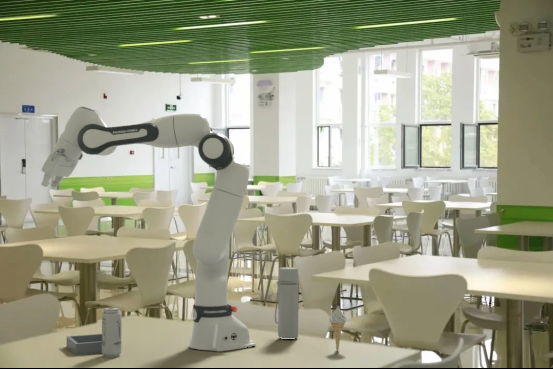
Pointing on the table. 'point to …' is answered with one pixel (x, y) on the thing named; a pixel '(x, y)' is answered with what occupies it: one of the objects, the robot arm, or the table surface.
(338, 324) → the ice cream cone
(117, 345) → the energy drink can
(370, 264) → the table surface
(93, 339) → the gray tray
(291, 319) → the water bottle
